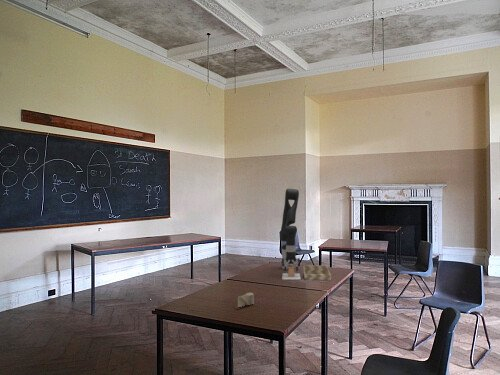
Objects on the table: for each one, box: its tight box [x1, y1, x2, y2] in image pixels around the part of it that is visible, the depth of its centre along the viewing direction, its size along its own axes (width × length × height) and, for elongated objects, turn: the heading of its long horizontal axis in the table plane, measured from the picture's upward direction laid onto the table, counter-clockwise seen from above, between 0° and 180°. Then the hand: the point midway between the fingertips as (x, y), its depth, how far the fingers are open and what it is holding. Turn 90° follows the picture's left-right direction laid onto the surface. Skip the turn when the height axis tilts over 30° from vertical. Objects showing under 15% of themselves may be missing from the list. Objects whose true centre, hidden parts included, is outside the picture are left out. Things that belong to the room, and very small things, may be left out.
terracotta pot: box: [287, 264, 296, 277], centre depth 290 cm, size 6×6×8 cm
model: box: [237, 292, 255, 308], centre depth 214 cm, size 3×11×8 cm, turn 141°
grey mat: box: [281, 272, 301, 281], centre depth 290 cm, size 14×20×1 cm
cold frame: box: [302, 265, 332, 281], centre depth 288 cm, size 20×20×7 cm
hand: (291, 271), depth 290 cm, fingers open, 8 cm apart
